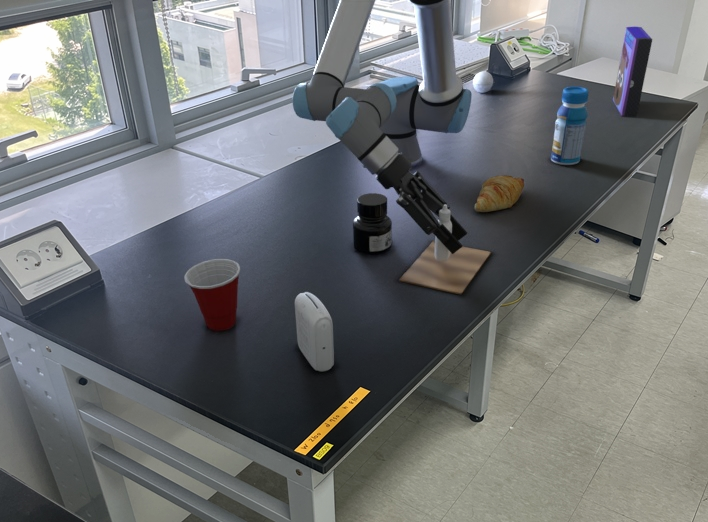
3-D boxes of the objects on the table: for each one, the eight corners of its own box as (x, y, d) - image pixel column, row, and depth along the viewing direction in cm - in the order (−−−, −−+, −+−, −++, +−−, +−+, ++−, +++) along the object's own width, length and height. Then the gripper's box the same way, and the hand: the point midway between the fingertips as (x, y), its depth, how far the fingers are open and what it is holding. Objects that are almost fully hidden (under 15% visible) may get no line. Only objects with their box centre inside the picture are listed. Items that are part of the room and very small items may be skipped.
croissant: (484, 230, 182) (500, 208, 175) (456, 204, 184) (470, 181, 177) (527, 201, 194) (543, 179, 188) (500, 177, 196) (514, 154, 190)
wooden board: (433, 242, 170) (433, 240, 170) (490, 253, 165) (491, 251, 165) (399, 281, 156) (399, 279, 156) (461, 294, 151) (461, 293, 150)
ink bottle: (378, 260, 164) (378, 211, 157) (345, 251, 168) (344, 203, 161) (399, 242, 171) (399, 195, 164) (366, 234, 175) (366, 187, 168)
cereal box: (612, 100, 252) (626, 26, 238) (627, 100, 252) (641, 26, 238) (621, 116, 238) (636, 38, 224) (636, 116, 238) (652, 38, 224)
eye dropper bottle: (457, 253, 160) (460, 202, 153) (444, 263, 156) (447, 212, 149) (439, 248, 162) (442, 198, 155) (427, 258, 159) (429, 207, 152)
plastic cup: (195, 311, 149) (185, 259, 142) (247, 307, 150) (241, 255, 143) (190, 340, 140) (180, 287, 133) (246, 336, 141) (239, 282, 134)
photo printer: (337, 368, 131) (335, 310, 124) (315, 374, 130) (312, 316, 123) (315, 339, 139) (312, 283, 132) (295, 345, 138) (290, 289, 130)
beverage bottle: (573, 168, 204) (585, 95, 192) (545, 162, 208) (554, 91, 197) (584, 158, 209) (597, 87, 198) (557, 153, 214) (567, 83, 202)
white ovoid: (468, 93, 265) (470, 72, 261) (477, 88, 270) (478, 68, 265) (494, 97, 260) (495, 76, 256) (502, 92, 265) (504, 71, 261)
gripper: (385, 159, 160) (454, 234, 166) (362, 192, 146) (439, 273, 151) (409, 137, 156) (479, 215, 161) (388, 169, 142) (466, 253, 147)
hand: (459, 243), depth 156 cm, fingers closed on eye dropper bottle, 6 cm apart
